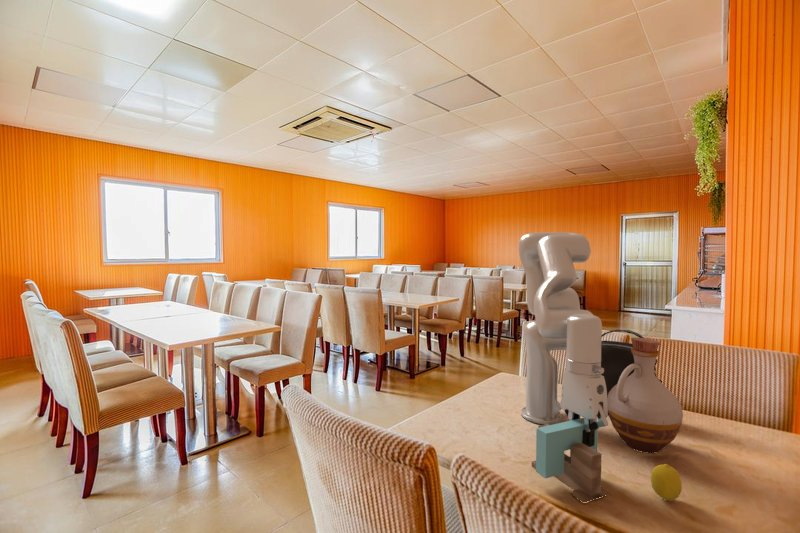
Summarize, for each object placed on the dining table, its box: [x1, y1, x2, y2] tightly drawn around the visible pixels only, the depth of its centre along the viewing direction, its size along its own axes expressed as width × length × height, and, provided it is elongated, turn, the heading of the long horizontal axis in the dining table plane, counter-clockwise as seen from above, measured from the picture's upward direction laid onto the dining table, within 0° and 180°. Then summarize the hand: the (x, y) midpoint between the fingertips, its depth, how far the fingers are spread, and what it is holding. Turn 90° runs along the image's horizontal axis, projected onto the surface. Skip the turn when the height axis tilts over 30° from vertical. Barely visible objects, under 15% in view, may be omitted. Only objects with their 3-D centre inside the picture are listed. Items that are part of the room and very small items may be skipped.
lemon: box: [650, 463, 683, 501], centre depth 86 cm, size 6×6×8 cm
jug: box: [607, 336, 684, 454], centre depth 108 cm, size 20×18×30 cm
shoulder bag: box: [601, 328, 663, 415], centre depth 131 cm, size 23×9×28 cm, turn 54°
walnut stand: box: [531, 424, 608, 502], centre depth 93 cm, size 7×16×10 cm, turn 23°
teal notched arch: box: [535, 417, 599, 480], centre depth 92 cm, size 16×3×10 cm, turn 113°
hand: (582, 442), depth 94 cm, fingers closed on teal notched arch, 3 cm apart
